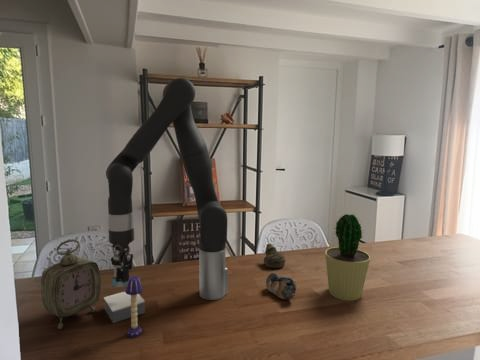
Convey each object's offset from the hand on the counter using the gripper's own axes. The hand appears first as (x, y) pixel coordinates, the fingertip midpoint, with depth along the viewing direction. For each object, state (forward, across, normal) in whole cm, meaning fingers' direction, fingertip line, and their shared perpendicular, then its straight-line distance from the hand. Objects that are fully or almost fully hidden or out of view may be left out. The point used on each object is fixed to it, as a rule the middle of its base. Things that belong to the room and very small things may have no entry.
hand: (123, 278), depth 105 cm
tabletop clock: (+11, +5, +14) cm, 19 cm away
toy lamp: (+11, -14, +1) cm, 18 cm away
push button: (+2, 0, 0) cm, 2 cm away
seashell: (+11, -2, -64) cm, 65 cm away
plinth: (+11, 0, 0) cm, 11 cm away
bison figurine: (+11, -22, -48) cm, 54 cm away
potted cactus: (+11, -34, -69) cm, 78 cm away
